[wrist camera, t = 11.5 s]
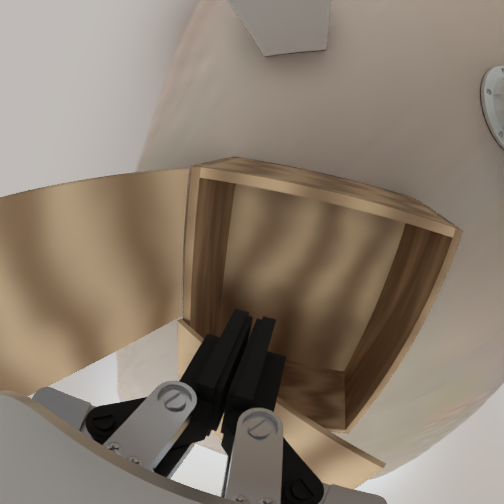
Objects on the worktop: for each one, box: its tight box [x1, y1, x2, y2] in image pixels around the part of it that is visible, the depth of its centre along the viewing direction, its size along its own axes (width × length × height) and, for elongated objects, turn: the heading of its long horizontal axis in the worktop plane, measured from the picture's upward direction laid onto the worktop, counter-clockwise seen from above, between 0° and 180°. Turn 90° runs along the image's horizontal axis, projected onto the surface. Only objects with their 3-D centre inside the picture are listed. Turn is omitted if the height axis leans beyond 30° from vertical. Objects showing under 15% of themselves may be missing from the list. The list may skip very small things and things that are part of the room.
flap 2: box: [177, 319, 386, 489], centre depth 22 cm, size 22×14×1 cm
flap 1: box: [0, 168, 189, 396], centre depth 14 cm, size 22×14×1 cm
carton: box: [183, 157, 463, 434], centre depth 30 cm, size 22×28×12 cm
